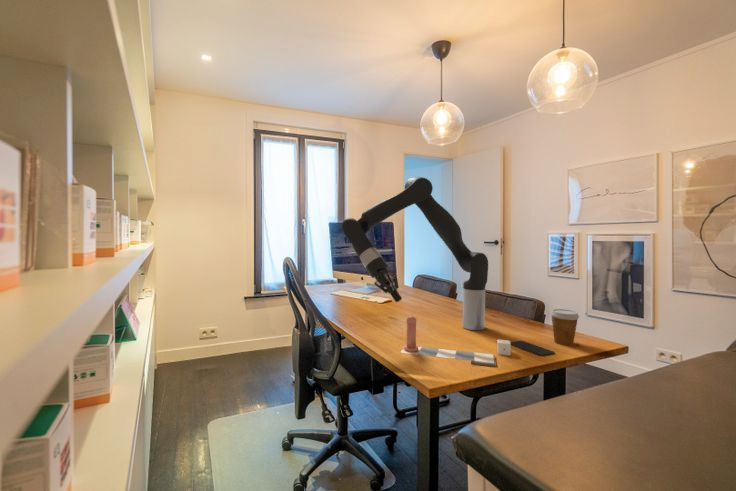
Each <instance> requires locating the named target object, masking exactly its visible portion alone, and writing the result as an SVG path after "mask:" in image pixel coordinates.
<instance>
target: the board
mask: <svg viewBox="0 0 736 491" xmlns="http://www.w3.org/2000/svg"><path fill="white" fill-rule="evenodd" d="M400 354H408V355H409V354H410V355H415V356H416V355H417V356H426V357H427V356H428V357H435V358H444V359H445V358H446V359H453V360H463V361H470V364H471V365H476V366H485V367H492V368H493V367H495V368H496V367H497V360H496V356H495V354H494V353H493V354H492V353H482V352H473V351H463V350H456V349H455V350H453V349H452V350H451V349H444V348H443V349H442V348H434V347H433V348H432V347H423V346H418V351H417V352H407V351H405V350H404V347H402V349H401V351H400Z"/></svg>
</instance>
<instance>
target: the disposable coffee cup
mask: <svg viewBox="0 0 736 491" xmlns="http://www.w3.org/2000/svg"><path fill="white" fill-rule="evenodd" d="M549 314H550V316H551V321H552V330H553V331H552V333H553V340H554V343H555V344H558V345H562V346H573V345H574V341H575V336H576V330H577V324H578V320H579V318H580V315H579V312H577V311H576V310H573V309H572V310H571V309H564V308H563V309H562V308H555V309H552V310H551V312H550V313H549Z"/></svg>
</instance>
